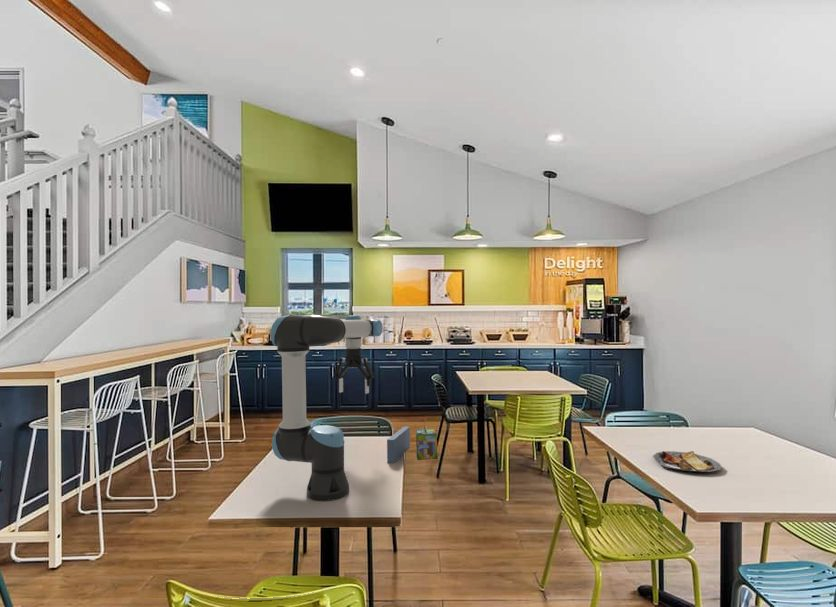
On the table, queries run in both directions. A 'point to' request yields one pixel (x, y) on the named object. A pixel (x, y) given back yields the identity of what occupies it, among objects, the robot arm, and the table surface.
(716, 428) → the table surface
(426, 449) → the chalk box
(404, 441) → the grayish blue board
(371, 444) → the table surface
